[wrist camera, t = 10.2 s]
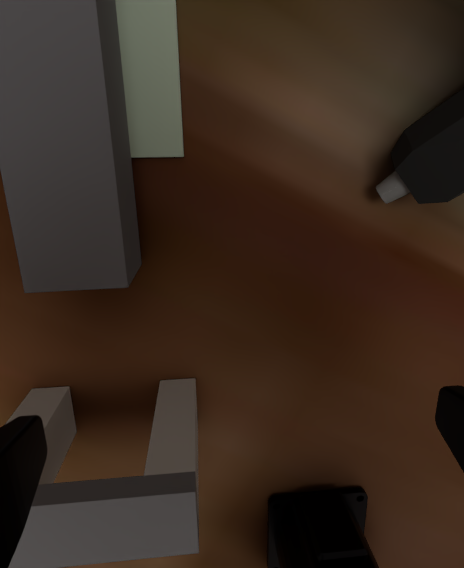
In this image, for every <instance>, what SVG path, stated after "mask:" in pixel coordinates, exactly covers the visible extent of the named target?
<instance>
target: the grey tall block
mask: <svg viewBox="0 0 464 568" xmlns="http://www.w3.org/2000/svg"><path fill="white" fill-rule="evenodd" d="M0 170H1V176H2V181H3V186H4V191H5V196H6V201H7V206H8V211H9V216H10V221H11V226H12V231H13V236H14V241H15V246H16V252H17V257H18V262H19V267H20V272H21V277H22V282H23V287H24V292H25V293H34V292H53V291H72V290H91V289H110V288H128V287H129V285H130V283H131V282H132V280H133V278H134V277H135V275H136V273H137V271H138V270H139V268H140V266H141V265H142V262H141V252H140V242H139V232H138V222H137V212H136V202H135V192H134V182H133V172H132V162H131V152H130V142H129V132H128V122H127V112H126V102H125V92H124V82H123V72H122V62H121V52H120V42H119V32H118V22H117V12H116V2H115V0H0Z"/></svg>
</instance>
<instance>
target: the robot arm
mask: <svg viewBox="0 0 464 568" xmlns="http://www.w3.org/2000/svg"><path fill="white" fill-rule="evenodd" d="M435 421H436V425H437V427H438V429H439V431H440V433H441V435H442V436H443V438H444V440H445V441H446V443H447V445H448V446H449V448H450V450H451V452H452V453H453V455H454V457H455V458H456V460H457V462H458V463H459V465H460V467H461V469H462V470H463V472H464V387H463V386H458V385H457V386H445V387H443V388H441V389H440V391H439V396H438V402H437V408H436V414H435ZM46 458H47V442H46V437H45V432H44V427H43V422H42V419H41V417H40V416H38V415H28V416H19V417H17V418H15V419H13V420H12V421H10V422H9V423H7V424H5V425H4V426H2V427H0V568H8V567H9V565H10V562H11V560H12V558H13V555H14V553H15V551H16V548H17V546H18V543H19V541H20V538H21V536H22V534H23V531H24V528H25V525H26V522H27V519H28V516H29V513H30V510H31V506H32V503H33V500H34V497H35V494H36V490H37V487H38V484H39V481H40V478H41V474H42V471H43V468H44V465H45V462H46ZM367 499H368V497H367V494H366V492H365V490H364V489H363V488H348V489H337V490H326V491H315V492H304V493H293V494H283V495H274V496H272V497H270V498H269V500H268V543H267V566H268V568H379V566H378V564H377V562H376V560H375V558H374V556H373V553H372V551H371V549H370V547H369V545H368V543H367V540H366V538H365V536H364V527H365V517H366V508H367ZM276 503H278V504H276Z"/></svg>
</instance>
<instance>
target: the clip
mask: <svg viewBox="0 0 464 568" xmlns="http://www.w3.org/2000/svg"><path fill="white" fill-rule="evenodd" d="M28 415H38V416H40V417H41V419H42V422H43V427H44V432H45V437H46V442H47V458H46V462H45V465H44V468H43V471H42V474H41V478H40V481H39V484H38V487H37V490H36V494H35V497H34V500H33V503H32V506H31V510H30V513H29V516H28V519H27V522H26V525H25V528H24V531H23V534H22V536H21V538H20V541H19V543H18V546H17V548H16V551H15V553H14V555H13V558H12V560H11V562H10V565H9V567H8V568H58V567H68V566H78V565H88V564H97V563H107V562H117V561H126V560H136V559H146V558H155V557H165V556H175V555H184V554H194V553H199V503H198V417H197V397H196V378H190V379H175V380H160V384H159V390H158V396H157V402H156V408H155V414H154V419H153V425H152V431H151V437H150V443H149V449H148V455H147V460H146V466H145V472H144V476H134V477H122V478H111V479H99V480H87V481H75V482H64V483H53V482H54V480H55V478H56V476H57V474H58V472H59V469H60V467H61V465H62V463H63V461H64V458H65V456H66V454H67V452H68V450H69V448H70V445H71V443H72V441H73V439H74V437H75V434H76V432H77V430H76V424H75V418H74V412H73V406H72V400H71V394H70V388H69V386H66V387H51V388H35V389H31V391H30V392H29V393H28V395H27V396H26V397H25V399H24V400H23V401H22V403H21V404H20V405H19V407H18V408H17V409H16V411H15V412H14V413H13V414H12V416H11V417H10V418H9V420H8V421H7V422H6V424H7V423H9V422H10V421H12V420H13V419H15V418H17V417H19V416H28Z"/></svg>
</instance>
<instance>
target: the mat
mask: <svg viewBox="0 0 464 568" xmlns="http://www.w3.org/2000/svg"><path fill="white" fill-rule="evenodd" d="M115 2H116V12H117V22H118V32H119V42H120V52H121V62H122V72H123V82H124V92H125V102H126V112H127V122H128V132H129V142H130V152H131V158H148V157H184V149H183V130H182V111H181V92H180V73H179V53H178V34H177V15H176V0H115Z"/></svg>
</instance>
